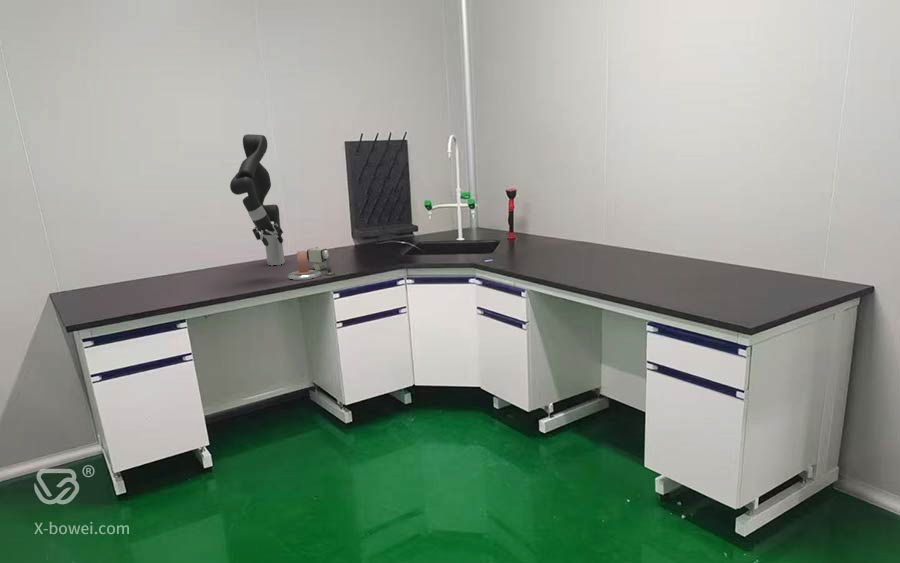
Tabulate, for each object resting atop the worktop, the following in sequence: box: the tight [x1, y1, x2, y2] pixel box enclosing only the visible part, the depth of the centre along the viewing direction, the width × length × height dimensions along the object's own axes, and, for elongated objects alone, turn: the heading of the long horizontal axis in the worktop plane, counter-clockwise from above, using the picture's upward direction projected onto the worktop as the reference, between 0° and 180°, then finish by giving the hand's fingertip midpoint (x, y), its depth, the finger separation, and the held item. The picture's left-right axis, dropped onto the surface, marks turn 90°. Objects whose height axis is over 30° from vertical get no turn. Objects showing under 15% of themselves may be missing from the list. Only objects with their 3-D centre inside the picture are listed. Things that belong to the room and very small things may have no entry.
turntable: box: [287, 269, 322, 281], centre depth 290 cm, size 16×16×2 cm
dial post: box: [322, 249, 335, 276], centre depth 291 cm, size 4×4×13 cm
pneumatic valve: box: [306, 246, 328, 271], centre depth 303 cm, size 6×12×12 cm, turn 69°
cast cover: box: [295, 250, 313, 275], centre depth 288 cm, size 8×8×11 cm
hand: (274, 244), depth 284 cm, fingers open, 8 cm apart
